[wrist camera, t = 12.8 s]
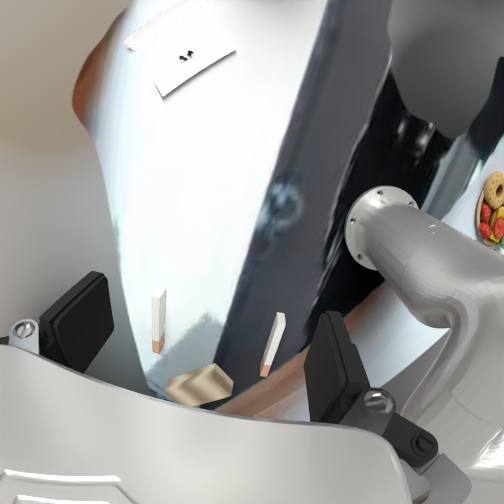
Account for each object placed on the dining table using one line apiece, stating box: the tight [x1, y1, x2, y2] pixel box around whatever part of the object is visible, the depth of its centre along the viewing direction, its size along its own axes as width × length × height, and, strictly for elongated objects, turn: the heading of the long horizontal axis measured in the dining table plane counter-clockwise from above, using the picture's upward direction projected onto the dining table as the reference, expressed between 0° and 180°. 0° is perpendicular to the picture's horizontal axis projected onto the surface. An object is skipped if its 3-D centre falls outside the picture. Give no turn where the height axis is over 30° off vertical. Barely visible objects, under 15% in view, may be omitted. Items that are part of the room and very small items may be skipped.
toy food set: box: [477, 172, 504, 249], centre depth 32 cm, size 13×13×3 cm
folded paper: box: [123, 0, 237, 96], centre depth 27 cm, size 12×12×2 cm
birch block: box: [165, 363, 233, 407], centre depth 48 cm, size 12×6×4 cm, turn 122°
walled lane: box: [152, 287, 285, 377], centre depth 43 cm, size 20×12×3 cm, turn 78°
